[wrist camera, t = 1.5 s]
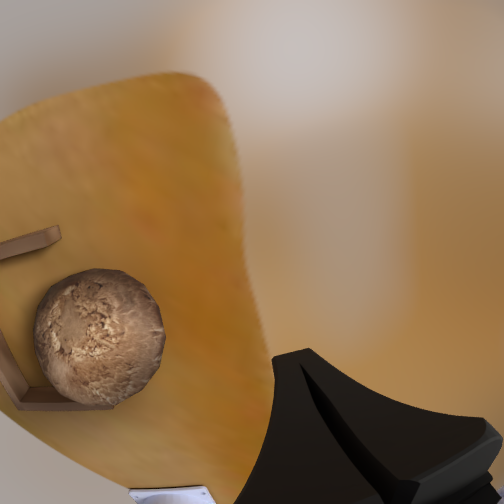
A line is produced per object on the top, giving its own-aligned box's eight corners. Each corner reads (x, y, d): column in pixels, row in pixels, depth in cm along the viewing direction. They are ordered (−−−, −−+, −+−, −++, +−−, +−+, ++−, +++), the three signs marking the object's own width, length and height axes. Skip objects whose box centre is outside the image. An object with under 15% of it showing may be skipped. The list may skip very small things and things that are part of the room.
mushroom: (153, 424, 17) (106, 444, 11) (59, 367, 18) (-1, 360, 12) (200, 310, 19) (169, 284, 13) (100, 267, 21) (50, 231, 15)
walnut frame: (118, 391, 19) (113, 409, 18) (27, 395, 19) (18, 410, 17) (58, 224, 16) (43, 231, 14) (-34, 254, 15) (-50, 262, 13)
